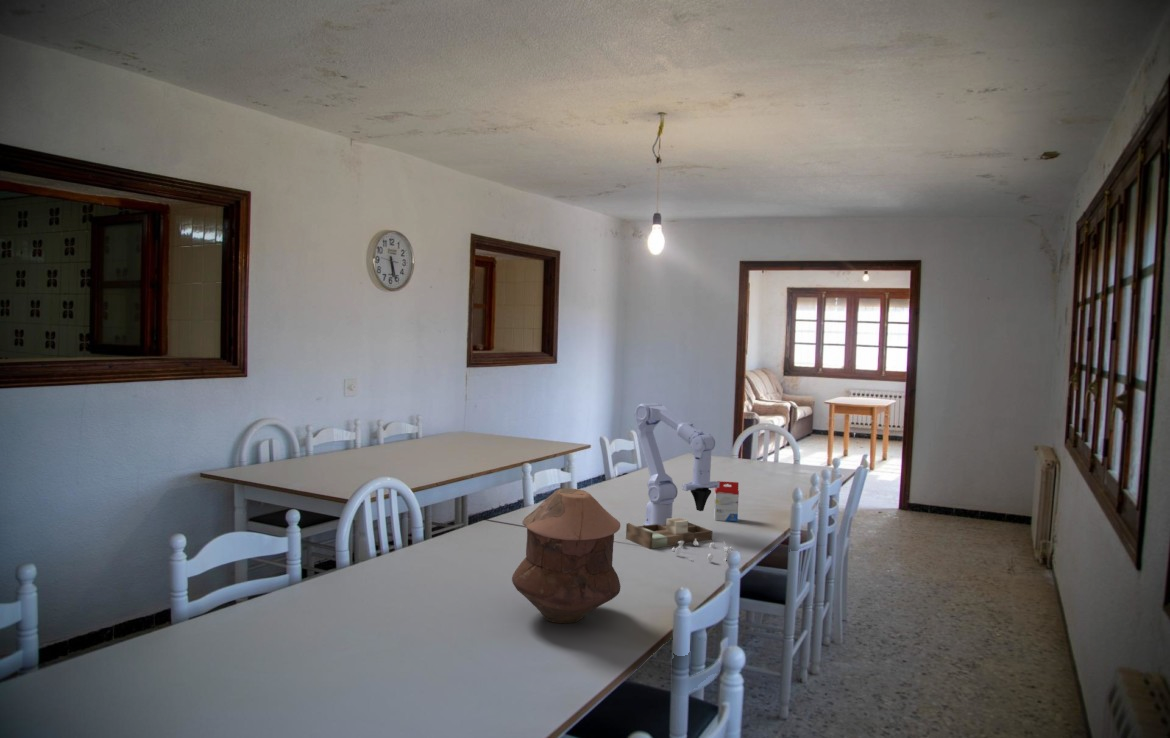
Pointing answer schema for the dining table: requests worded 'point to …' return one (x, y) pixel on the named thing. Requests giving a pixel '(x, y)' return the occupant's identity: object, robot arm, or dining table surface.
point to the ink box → (726, 502)
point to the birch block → (677, 525)
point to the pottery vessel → (568, 556)
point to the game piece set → (695, 542)
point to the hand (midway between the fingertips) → (699, 510)
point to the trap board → (665, 535)
